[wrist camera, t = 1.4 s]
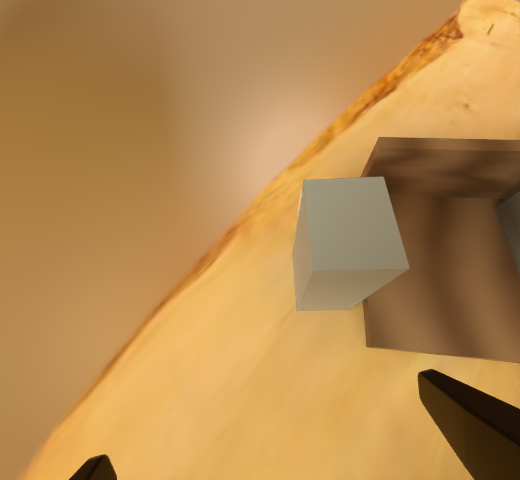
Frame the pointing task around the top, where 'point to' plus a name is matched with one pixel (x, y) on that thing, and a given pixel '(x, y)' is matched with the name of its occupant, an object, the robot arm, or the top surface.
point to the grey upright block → (345, 243)
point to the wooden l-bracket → (451, 248)
